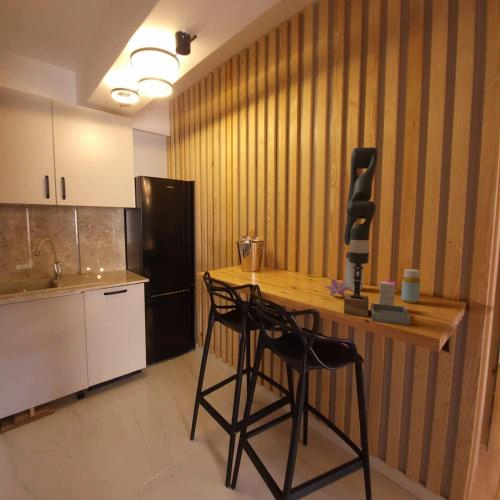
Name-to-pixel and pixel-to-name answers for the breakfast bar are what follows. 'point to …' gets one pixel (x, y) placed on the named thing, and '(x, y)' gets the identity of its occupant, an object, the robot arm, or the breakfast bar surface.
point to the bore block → (356, 305)
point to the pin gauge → (356, 296)
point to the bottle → (410, 286)
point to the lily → (338, 287)
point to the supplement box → (387, 292)
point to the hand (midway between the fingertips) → (356, 292)
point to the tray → (389, 314)
